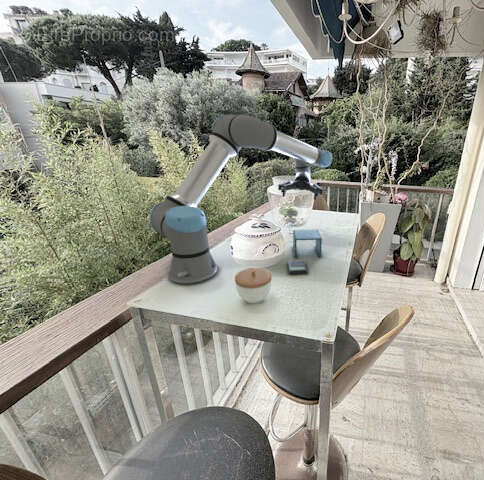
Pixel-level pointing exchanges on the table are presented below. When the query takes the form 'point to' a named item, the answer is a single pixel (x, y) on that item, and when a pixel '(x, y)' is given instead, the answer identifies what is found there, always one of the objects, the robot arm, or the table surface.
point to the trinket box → (253, 284)
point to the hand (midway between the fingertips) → (299, 195)
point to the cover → (307, 238)
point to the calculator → (297, 267)
